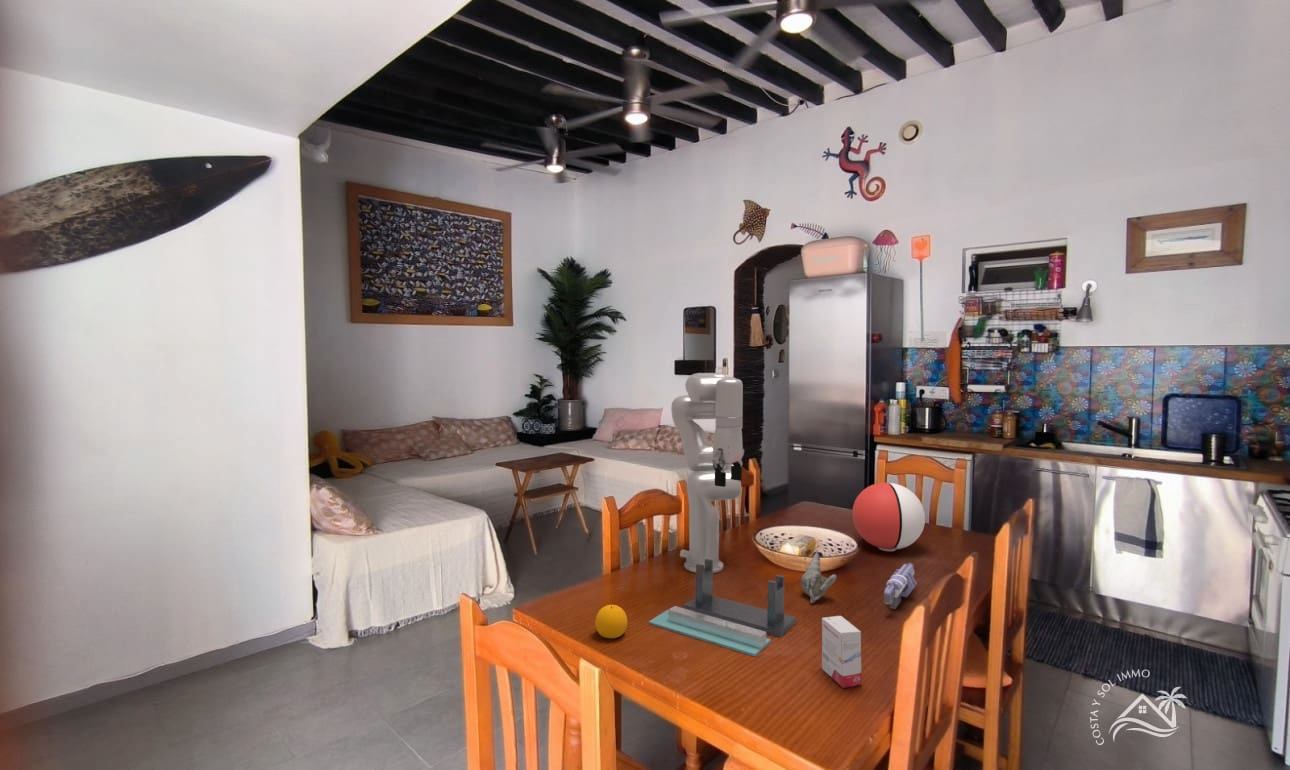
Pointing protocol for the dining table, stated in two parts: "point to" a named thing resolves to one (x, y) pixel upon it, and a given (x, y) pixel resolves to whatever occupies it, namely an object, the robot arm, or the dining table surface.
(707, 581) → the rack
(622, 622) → the yellow orange fruit
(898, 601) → the toy gun
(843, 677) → the ink box
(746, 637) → the rail
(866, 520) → the ball
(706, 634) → the mat
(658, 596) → the dining table surface
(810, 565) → the seashell
